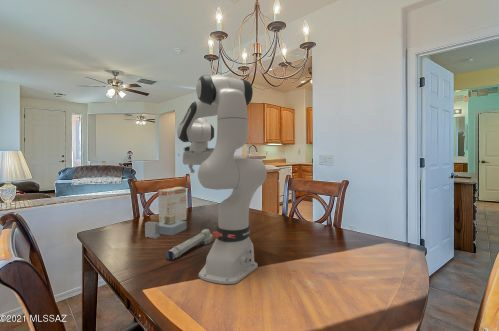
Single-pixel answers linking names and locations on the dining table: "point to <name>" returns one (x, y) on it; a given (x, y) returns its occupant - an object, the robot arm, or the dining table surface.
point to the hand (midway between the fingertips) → (199, 173)
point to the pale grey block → (152, 229)
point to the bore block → (172, 227)
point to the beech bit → (170, 219)
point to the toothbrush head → (190, 244)
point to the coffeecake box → (172, 203)
